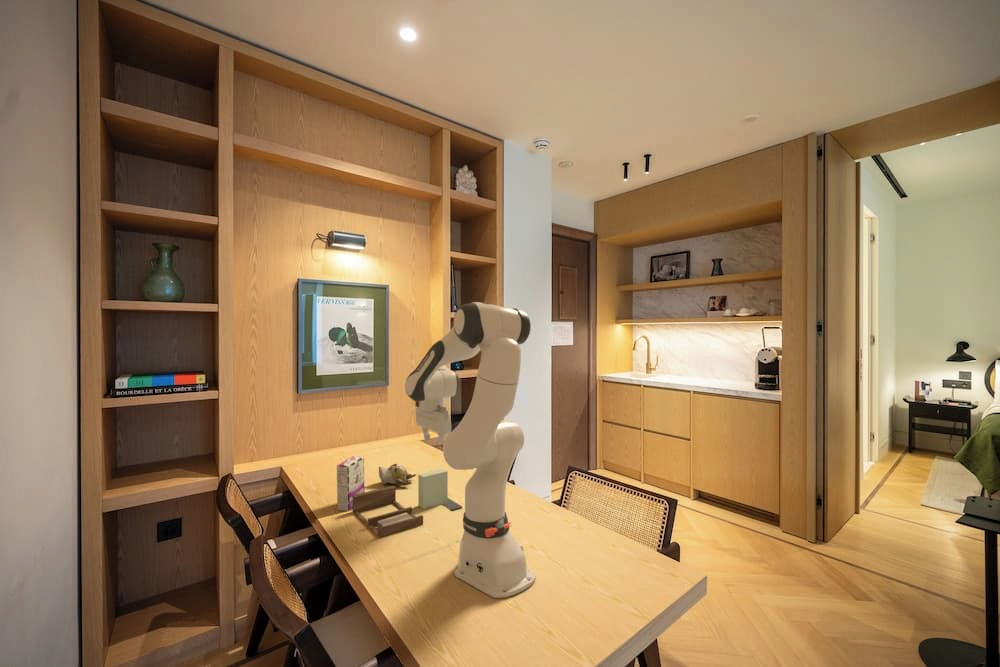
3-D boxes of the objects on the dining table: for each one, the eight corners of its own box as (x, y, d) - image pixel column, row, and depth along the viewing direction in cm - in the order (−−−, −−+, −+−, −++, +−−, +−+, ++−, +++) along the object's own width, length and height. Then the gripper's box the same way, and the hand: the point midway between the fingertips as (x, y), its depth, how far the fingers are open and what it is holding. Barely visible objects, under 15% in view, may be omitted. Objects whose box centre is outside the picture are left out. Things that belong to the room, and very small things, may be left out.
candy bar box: (353, 498, 163) (352, 455, 163) (365, 499, 162) (365, 456, 162) (336, 510, 152) (336, 464, 152) (348, 512, 151) (348, 465, 151)
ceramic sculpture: (382, 458, 184) (417, 461, 184) (381, 478, 184) (416, 481, 184) (375, 467, 173) (412, 469, 173) (374, 488, 174) (410, 490, 174)
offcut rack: (423, 528, 139) (423, 506, 139) (378, 542, 130) (378, 519, 130) (393, 504, 158) (393, 485, 158) (352, 515, 149) (352, 495, 149)
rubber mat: (462, 508, 155) (462, 506, 155) (422, 520, 145) (422, 518, 145) (442, 496, 166) (442, 494, 166) (404, 506, 156) (404, 504, 156)
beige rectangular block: (447, 503, 157) (447, 471, 157) (422, 510, 151) (423, 477, 151) (442, 500, 160) (442, 468, 160) (418, 507, 154) (418, 474, 154)
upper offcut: (414, 524, 139) (414, 518, 139) (385, 534, 133) (384, 527, 133) (406, 518, 143) (406, 512, 143) (377, 527, 137) (377, 521, 137)
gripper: (455, 406, 149) (455, 446, 149) (427, 399, 165) (427, 435, 165) (439, 408, 145) (440, 449, 145) (412, 401, 161) (412, 437, 161)
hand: (433, 442), depth 155 cm, fingers open, 8 cm apart
